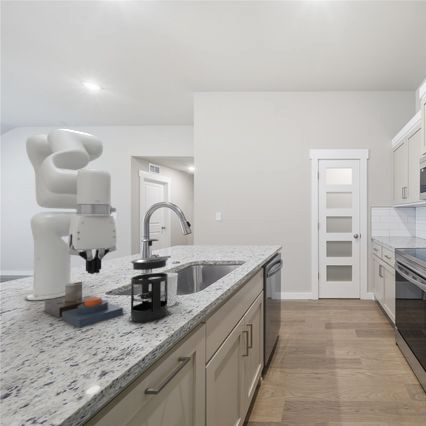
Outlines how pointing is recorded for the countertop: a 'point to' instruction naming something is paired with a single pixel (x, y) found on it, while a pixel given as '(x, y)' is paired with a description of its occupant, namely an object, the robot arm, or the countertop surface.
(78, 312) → the button block
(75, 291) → the lock knob
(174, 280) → the white cup
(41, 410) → the countertop surface
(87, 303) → the release button
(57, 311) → the panel
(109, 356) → the countertop surface
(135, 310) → the french press
